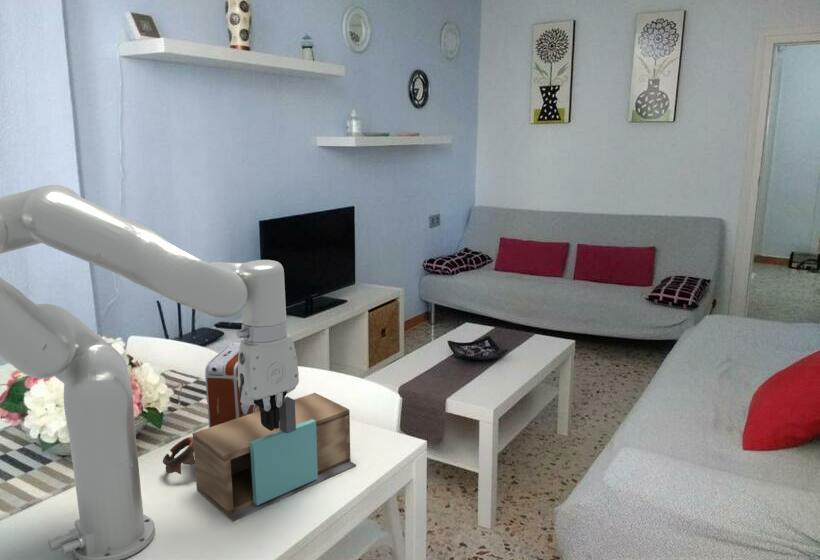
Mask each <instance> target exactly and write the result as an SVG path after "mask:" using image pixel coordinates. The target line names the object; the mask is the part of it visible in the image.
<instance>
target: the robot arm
mask: <svg viewBox="0 0 820 560" xmlns="http://www.w3.org/2000/svg"><path fill="white" fill-rule="evenodd" d="M40 244H42V245H43V244H44V245H45V246H48V247H50V248H51V249H54V250H58V251H60V252H63V253H65V254H67V255H70V256H72V257H74V258H77V259H80V260H82V261H85V262H87V263H90V264H92V265H95V266H97V267H99V268H102V269H105V271H106V270H107V271H109V272H112V273H113V274H116V275H118V276H121V277H123V278H124V279H125V278H126V279H127V280H129V281H130V282H132V283H133V284H136V285H139V286H141V287H143V288H146V289H148V290H150V291H153V292H155V293H157V294H158V295H161V296H162V297H165V298H166V299H169V300H171V301H174V302H176V303H178V304H181V305H183V306H186V307H187V308H190V309H193V310H194V311H195V310H196V311H198V312H200V313H203V314H205V315H208V316H211V317H214V318H222V319H223V318H230V317H233V316H235V315H237V314H238V313H240V312H241V320H242V324H241V328H240V330H236V338H238V339H242V340H240V342H239V343H240V348H239V357H238V386H239V391H240V393H242V394H241V400H240V402H241V403H242V404H244V405H254V404H255V405H257V406H258V407H260V415H261V424H262V425H263V426H264V427H265V428H267V429H268V430H270V431H272V430H274V429H278V428H279V421H280V413H279V407H280V406H281V405H282V400H283V399H284V397H287V395H288V394H289V393H292V392H293V391H294V390H296V387H297V386H298V385H299V382H300V376H299V374H300V373H299V367H298V366H299V365H298V357H297V352H296V347H295V344H294V343H295V342H294V340H293V337H292V334H290V333H288V328H287V327H288V326H287V325H288V324H287V310H286V308H287V305H286V303H287V302H286V289H285V288H286V286H285V285H286V284H285V272H284V271H285V270H284V267H283V265H282V264H281V262H279V261H276V260H271V259H257V260H251V261H246V262H227V261H225V262H224V261H210V262H207V261H205V260H203V259H200V258H198V257H197V256H194V255H193V254H191V253H188V252H186V251H184V250H182V249H181V248H179V247H177V246H176V245H174V244H173V243H171V242H169V240H167V239H166V238H164V237H162V235H160V234H159V233H157V232H156V231H154V230H153V229H151V228H149V227H147V226H145V225H144V224H141V223H138V222H137V221H134V220H133V219H130V218H127V217H124V216H122V215H120V214H118V213H116V212H114V211H112V210H109V209H107V208H105V207H103V206H100V205H98V204H96V203H94V202H93V201H90V200H88V199H86V198H83V197H81V196H80V195H79V194H78V193H76V191H74V190H73V189H71V188H68V187H67V186H64V185H59V184H47V185H43V186H39V187H35V188H32V189H28V190H25V191H19V192H16V193H11V194H8V195H3V196H0V255H1V254H4V253H8V252H14V251H17V250H20V249H25V248H27V247H28V248H29V247H31V246H36V245H40ZM0 357H1V358H2V359H3V360H5V361H6V362H8V363H9V364H10V365H11V366H13V368H15V369H16V370H18V371H19V372H20V373H22V374H23V375H27V376H29V377H31V378H36V379H49V378H53V377H55V378H56V379H58V380H59V381H60V382H62V383H63V384H64V385H63V386H64V387H63V409H64V416H65V421H66V426H67V431H68V439H69V440H68V441H69V446H70V454H71V455H70V456H71V461H72V463H71V464H72V468H73V477H74V478H73V479H74V484H75V485H74V486H75V492H76V494H75V495H76V499H77V500H76V501H77V507H78V510H77V511H78V518H79V519H76V520H75V521H74V528H71V529H70V528H69V530H68V531H69V532H66V533H63V534H60V535H58V536H55V537H51V538H49V539H48V540H47V543H48V548H49V550H50V552H55V551H57V550H59V549H61V550H62V551H61V552H62V553H63V555H65V554H67V553H70V552H72V553H73V555H74V557H75V558H76V559H78V560H123V559H127V558H128V557H131V556H133V555H135V554H137V553H139V552H140V551H142V550H143V549H144V548H145V547H147V546H148V545H149V543H151V542H152V540H153V539H154V536H155V534H156V528H155V527H156V526H155V522H154V520H153V519H152V518H151V517H149V516H147V515H146V514H144V507H143V500H142V499H143V498H142V488H141V476H140V469H139V468H140V467H139V457H138V448H137V437H136V436H137V435H136V426H135V413H134V395H133V387H132V382H131V377H130V374H129V370H128V366H127V363H126V361H125V359H124V357H123V355H122V354H121V353H120V352H119V351H118V350H117V349H116V348H115V347H114V346H112V345H111V344H110V343H109V342H108V341H106V340H105V339H104V338H102V337H101V336H100V335H99V334H98V333H96V332H95V331H94V330H93V329H92V328H90V327H89V326H88V325H86V323H84V322H83V321H81V320H80V319H79V318H78V317H77V316H76V315H74V314H73V313H72V312H70V311H69V310H67V309H65V308H63V307H62V306H59V305H55V304H52V303H35V302H34V301H32V300H31V299H29V297H27V296H26V295H25V294H23V292H21V290H19V289H18V288H17V287H15V286H14V285H12V284H11V283H9V282H8V281H6V280H4V279H3V278H1V277H0Z"/></svg>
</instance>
